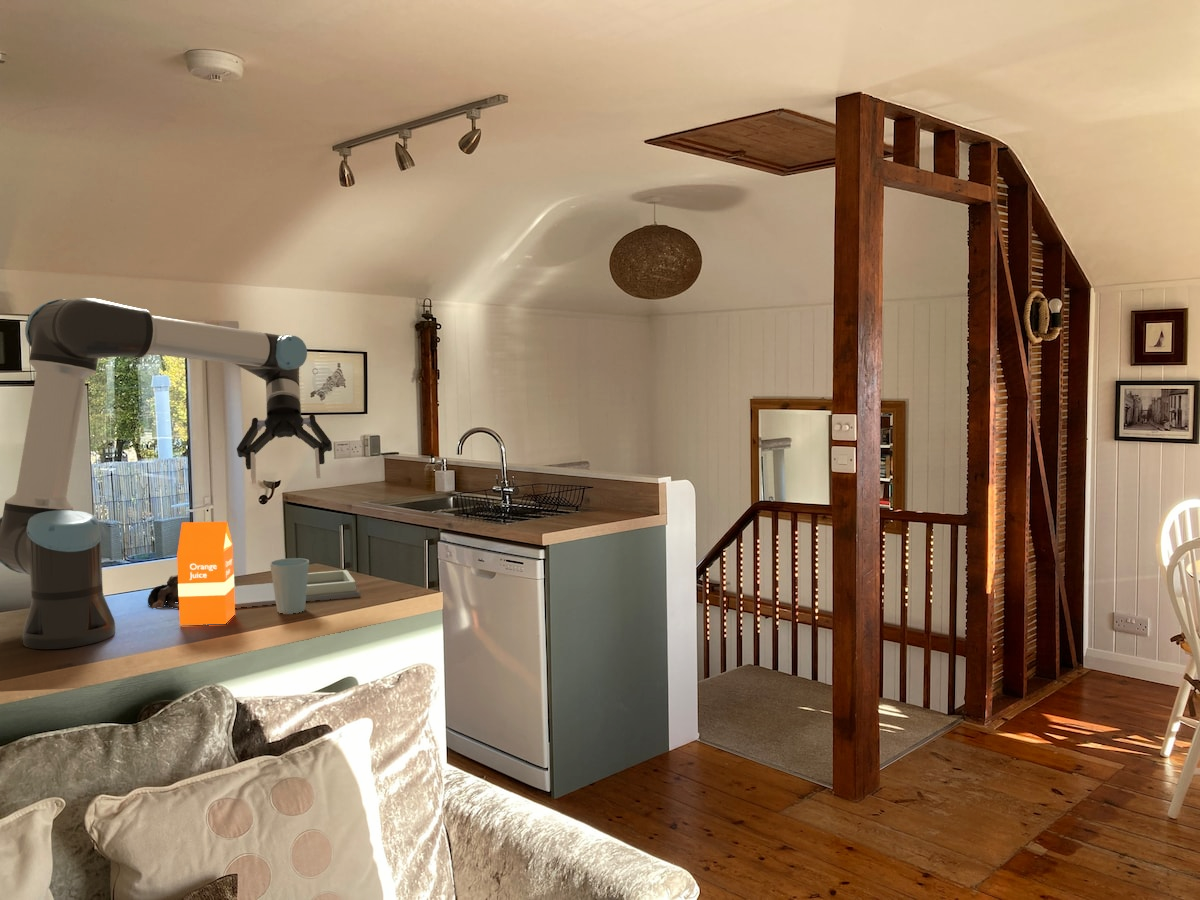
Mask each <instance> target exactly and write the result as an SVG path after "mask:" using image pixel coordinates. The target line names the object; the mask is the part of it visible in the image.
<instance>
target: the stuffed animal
mask: <svg viewBox="0 0 1200 900" xmlns="http://www.w3.org/2000/svg"><path fill="white" fill-rule="evenodd" d="M166 601H167V602H166ZM175 602H178V603H179V597H178V574H174V575H171V576H169V578H168V580H167V582H166V584H161V585H159V586H155V587H154V588H153V589H152V590H151V591H150V594H149V595H148V597H147V606H148V607H151V608H152V609H153V608H156V609H158V608H157V607H163V608H164V607H165V606H164V605H166V606H167V605H168V606H169V607H173V608H178V609H177V610H179V604H178V603H175ZM149 605H151V606H149ZM168 606H167V607H168ZM169 607H168V608H169ZM173 608H172V609H173Z"/></svg>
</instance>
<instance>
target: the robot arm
mask: <svg viewBox="0 0 1200 900" xmlns="http://www.w3.org/2000/svg"><path fill="white" fill-rule="evenodd" d="M24 327H25V329H24V332H25V333H24V335H25V338H26V342H27V343H28V345H29V346H30V347H31V348H30V352H29V358H28V359H29V360H28V363H29V364H30V366H31V367H32V368H33V369H34V371H35V378H34V384H33V385H34V386H33V390H32V395H31V396H32V397H31V403H30V407H29V408H30V409H29V414H28V418H27V419H28V420H27V426H26V432H25V437H24V443H23V449H22V456H21V460H20V461H21V462H20V466H19V467H20V468H19V472H18V473H19V474H18V479H17V486H16V491H15V494H13V495H11V496H10V497H9V498H7V499H6V500H5V502H4V506H3V511H2V516H1V517H0V565H3V566H4V567H6V568H8V569H9V570H11V571H14V572H16V573H19V574H26V575H29V576H30V591H31V604H30V606H29V610H28V613H27V617H26V620H25V621H24V622H25V623H24V626H23V629H22V645H23V646H24V647H26V648H30V649H35V650H57V649H59V650H60V649H70V648H71V649H72V648H77V647H81V646H87V645H92V644H95V643H99V642H101V641H102V642H103V641H104V640H107V639H109V638H111V637H113V636H114V635H115V634H116V621H115V619H114V616H113V614H112V612H111V611H112V610H111V609H110V607H109V605H108V602H107V600H106V598H105V596H104V589H103V587H104V586H103V569H102V568H103V565H102V545H101V544H102V531H101V529H100V523H99V522H100V521H99V519H97V517H96V516H95V515H93V514H91V513H89V512H86V511H80V510H76V511H75V510H74V507H73V505H72V504H71V503H70V502H69V500H68V499H67V496H68V495H67V494H68V491H69V490H68V487H69V482H70V476H71V471H72V465H73V458H74V453H75V447H76V440H77V435H78V429H79V422H80V416H81V412H82V411H81V410H82V404H83V398H84V393H85V386H86V382H87V380H88V379H89V378H90V377H92V376H93V375H94V374H96V372H97V365H98V360H99V359H103V358H113V357H114V358H117V357H118V358H119V357H123V358H124V357H125V358H126V357H127V358H138V359H141V358H144V357H146V356H147V355H148V354H149V355H156V356H164V357H173V358H182V359H191V360H200V361H206V362H208V361H209V362H217V363H225V364H232V365H236V366H238V367H240V368H242V369H243V370H245V371H247V372H249V373H251V374H252V375H254V376H257V378H260V379H262V380H264V381H265V390H266V391H265V392H266V394H265V396H266V398H265V399H266V400H265V401H266V418H265V419H264V420H263V419H259V420H258V417H253V418H252V420H251V426H249V429H248V430H247V432H246V433H245V435H244V436H243V438H242V439H241V441H240V443H239V444H238V446H237V447H236V453H237V456H238V458H245V468H246V469H247V470H250V478H251V483H252V484H256V483H257V467H256V466H257V464H256V463H257V461H256V455H257V453H259V452H260V451H261V450H262V449H263V448H264V447H265V446H266V445H267V444H268V443H270V441H271V442H272V441H273V440H274V439H275V438H276V437H277V438H278V439H279V438H285V437H286V438H292V437H293V436H295V437H296V438H298V439H300V440H301V441H302V442H304V443H305V444H307V445H308V446H309V447H310V448H311V449H313V450H314V458H315V473H316V474H315V475H316V479H321V466H320V465H325V464H326V463H325V461H326V460H325V459H326V458H325V452H331V451H332V450H333V445H332V441H331V439H330V438H329V437H328V436H327V435H326V433H325V431H323V429H322V428H321V426H320V424H318V422H317V419H316V417H315V415H314V414H309V416H308V417H303V416H302V407H301V389H300V368H301V367H302V366H303V365H304V364H305V362H306V361H307V357H308V349H307V346H306V343H305V342H304V340H303V339H301V338H300V337H298V336H296V335H290V334H275V333H267V332H265V333H264V332H261V331H254V330H248V329H242V328H235V327H229V326H222V325H215V324H209V323H204V322H195V321H189V320H183V319H177V318H169V317H163V316H156V315H152V313H151V311H149V310H147V309H146V308H145V309H144V308H138V307H133V306H129V305H124V304H120V303H115V302H111V301H107V300H103V299H99V298H98V299H97V298H90V297H82V298H73V299H72V298H70V299H65V298H64V299H63V298H62V299H61V298H60V299H55V300H50V301H48V302H46V303H43V304H40V305H39V306H37V308H35V309H34V310H32V312H31V313H30V314H29V316H28V318H27V320H26V323H25V326H24ZM304 425H306V426H307V427H308V428H310V429H311V431H312V433H313V434H314V435H315V436H316V437H314V436H313V435H311V433H309V432H308V431H307V430H305V429H304V427H303V426H304ZM263 427H265V429H264V431H263V433H261V434H260V435H259V436H258V437H257V435H258V433H259V432H260V431H261V429H263ZM256 437H257V438H256ZM254 439H255V440H254Z"/></svg>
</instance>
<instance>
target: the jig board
mask: <svg viewBox="0 0 1200 900" xmlns="http://www.w3.org/2000/svg"><path fill="white" fill-rule="evenodd" d="M234 596H235V608H237V609H242V608H241V607H247V608H253V607H252V606H258V607H263V606H262V605H268V606H273V605H272V604H276V600H275V593H274V586H273V582H268V583H266V582H265V583H255V584H254V583H253V584H247V585H246V584H245V585H234ZM350 598H360V591H359V589H357V586H356V580H355V578H353V576H352V575H351V574H350V572H349V571H348V569H342V570H341V569H340V570H329V571H318V572H317V571H316V572H308V579H307V591H306V601H310V602H316V601H315V600H320V601H330V599H331V600H338V599H339V600H340V599H350Z"/></svg>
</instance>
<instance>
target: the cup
mask: <svg viewBox="0 0 1200 900" xmlns="http://www.w3.org/2000/svg"><path fill="white" fill-rule="evenodd" d="M269 564H270V571H271V578H272V579H271V580H272V583H273V586H274V593H275V600H276V605H275V606H276V611H277V613H278V612H279V613H278V614H280V613H283V614H282V615H294V614H293V613H296V614H299V612H300V613H302V611H303V612H304V611H305V610H306V603H307V602H306V591H307V579H308V573H309V568H310V560H309V559H307V558H299V557H298V558H297V557H291V558H281V559H275V560H273V561H271V562H270V563H269Z"/></svg>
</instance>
